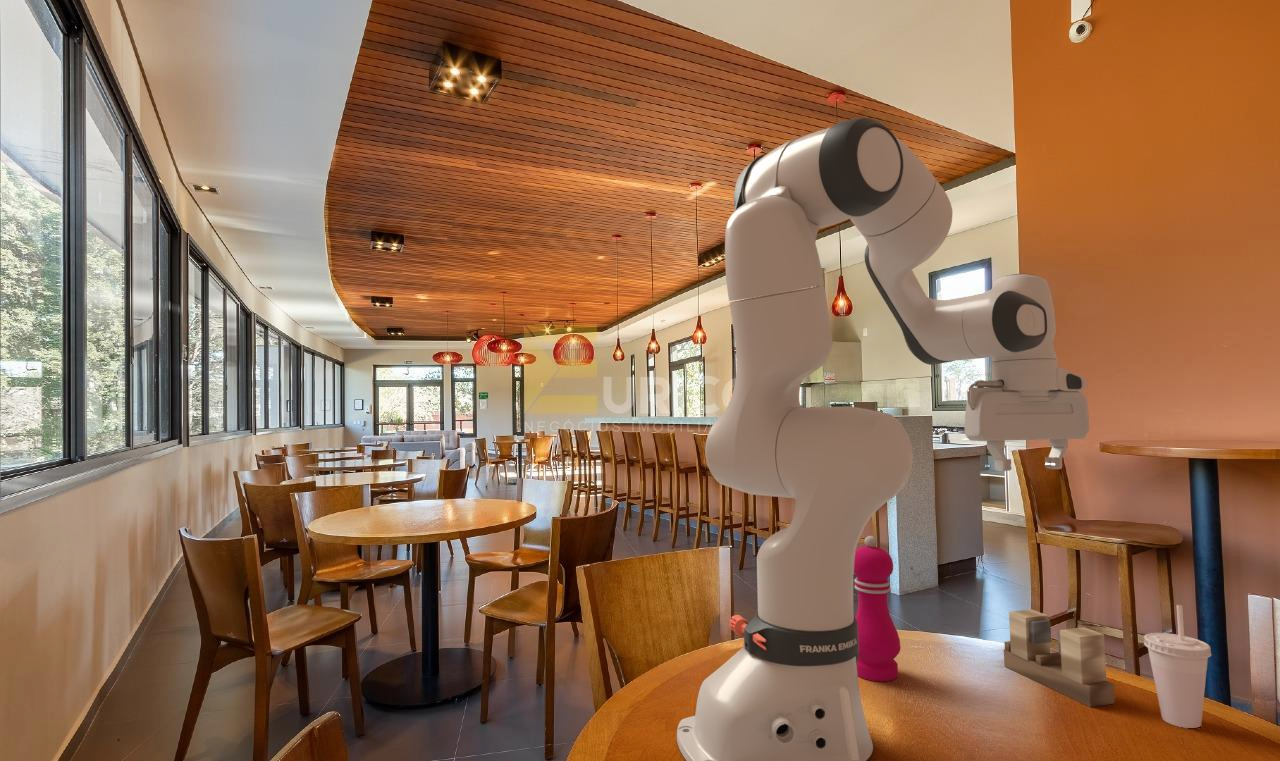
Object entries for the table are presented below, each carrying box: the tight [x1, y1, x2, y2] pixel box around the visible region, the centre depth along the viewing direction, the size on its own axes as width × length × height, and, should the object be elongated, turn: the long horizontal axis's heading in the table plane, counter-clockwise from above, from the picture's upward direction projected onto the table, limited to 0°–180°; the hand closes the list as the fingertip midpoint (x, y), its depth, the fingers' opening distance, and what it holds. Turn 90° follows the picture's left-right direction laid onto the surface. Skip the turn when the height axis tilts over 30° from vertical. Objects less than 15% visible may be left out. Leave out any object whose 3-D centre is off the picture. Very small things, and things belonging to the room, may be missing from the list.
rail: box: [1003, 626, 1116, 708], centre depth 90 cm, size 4×14×8 cm, turn 14°
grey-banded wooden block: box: [1008, 609, 1052, 660], centre depth 94 cm, size 4×4×6 cm
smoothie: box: [1143, 604, 1212, 729], centre depth 79 cm, size 6×6×14 cm
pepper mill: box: [853, 535, 902, 682], centre depth 95 cm, size 7×7×20 cm
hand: (1028, 469), depth 99 cm, fingers open, 8 cm apart
